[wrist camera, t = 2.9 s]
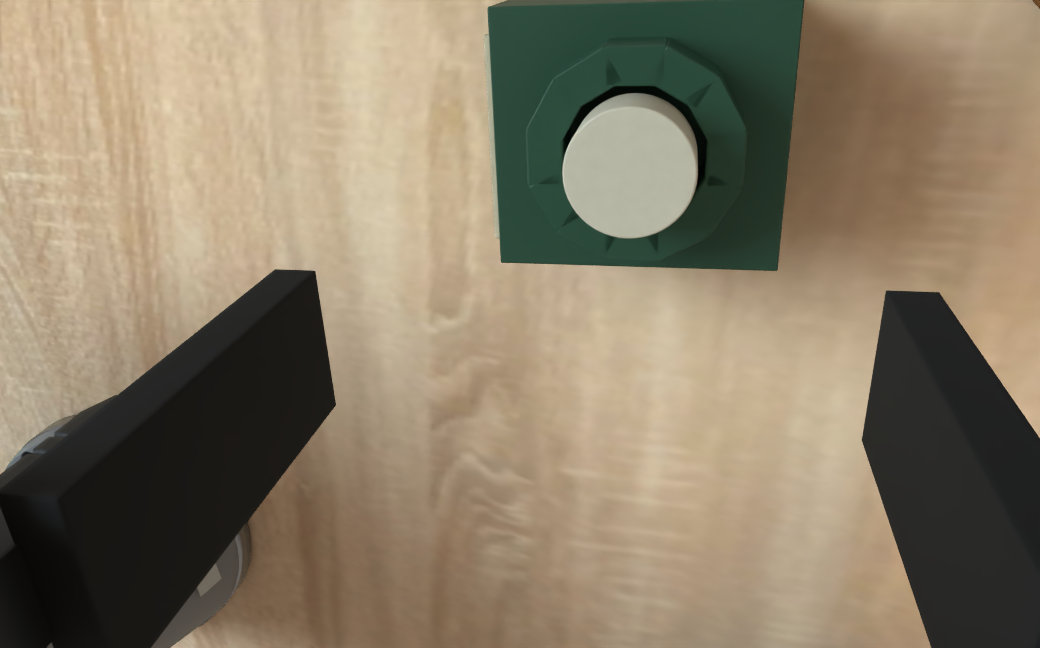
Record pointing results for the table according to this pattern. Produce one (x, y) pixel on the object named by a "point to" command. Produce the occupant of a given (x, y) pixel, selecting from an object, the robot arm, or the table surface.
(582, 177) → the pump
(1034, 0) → the disposable coffee cup
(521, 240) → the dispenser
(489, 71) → the bottle label
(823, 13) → the table surface
